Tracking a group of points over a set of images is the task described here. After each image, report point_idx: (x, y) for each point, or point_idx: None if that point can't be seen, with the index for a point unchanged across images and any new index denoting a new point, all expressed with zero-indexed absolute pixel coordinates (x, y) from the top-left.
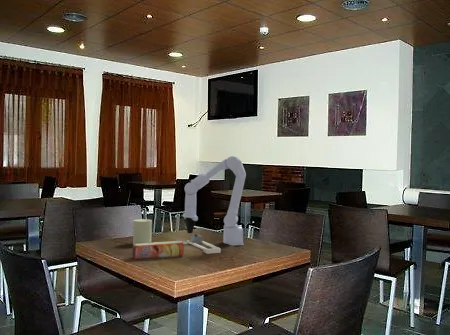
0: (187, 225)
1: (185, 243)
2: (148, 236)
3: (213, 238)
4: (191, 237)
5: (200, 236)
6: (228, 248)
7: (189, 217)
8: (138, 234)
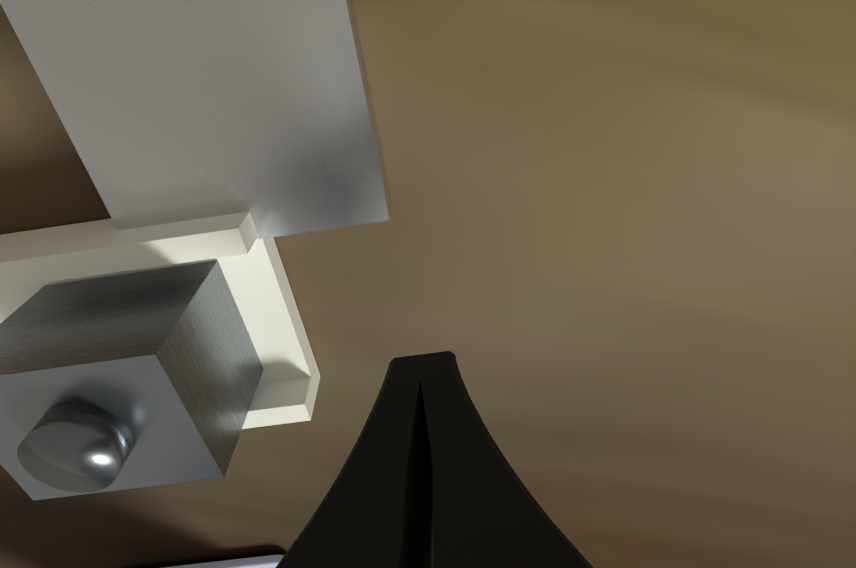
0: (358, 513)
1: (125, 160)
2: None
3: (622, 557)
4: (123, 331)
5: (17, 474)
6: (6, 558)
7: None
8: None
